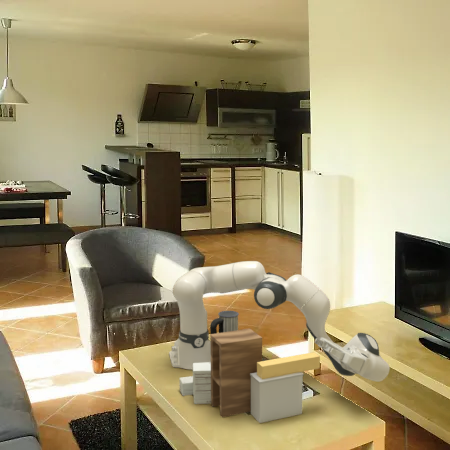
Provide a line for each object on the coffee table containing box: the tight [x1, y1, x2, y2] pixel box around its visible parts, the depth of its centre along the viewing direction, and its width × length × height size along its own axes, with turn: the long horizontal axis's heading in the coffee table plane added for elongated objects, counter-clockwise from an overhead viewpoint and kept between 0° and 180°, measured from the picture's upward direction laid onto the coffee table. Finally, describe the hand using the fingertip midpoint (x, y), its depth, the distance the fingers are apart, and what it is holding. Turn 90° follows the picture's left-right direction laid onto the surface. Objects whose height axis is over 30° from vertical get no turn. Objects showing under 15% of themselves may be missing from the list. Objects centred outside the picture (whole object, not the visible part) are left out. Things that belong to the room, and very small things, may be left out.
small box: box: [179, 375, 194, 397], centre depth 219 cm, size 6×6×5 cm
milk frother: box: [209, 310, 239, 334], centre depth 260 cm, size 14×16×15 cm
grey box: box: [250, 372, 304, 424], centre depth 201 cm, size 7×16×14 cm, turn 113°
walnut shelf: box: [209, 328, 263, 418], centre depth 205 cm, size 10×15×26 cm, turn 113°
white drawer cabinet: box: [192, 362, 211, 405], centre depth 212 cm, size 7×7×13 cm
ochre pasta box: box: [257, 351, 321, 379], centre depth 201 cm, size 4×22×4 cm, turn 113°
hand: (323, 345), depth 204 cm, fingers open, 8 cm apart
